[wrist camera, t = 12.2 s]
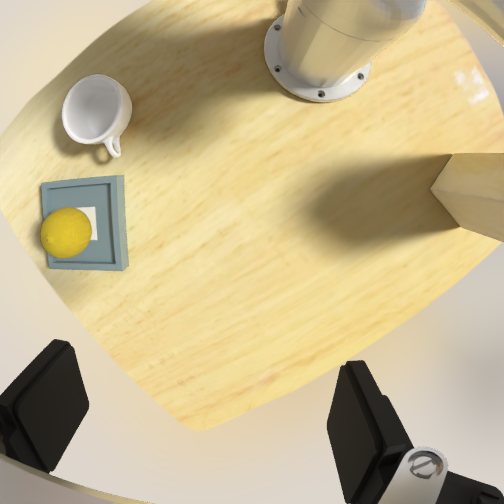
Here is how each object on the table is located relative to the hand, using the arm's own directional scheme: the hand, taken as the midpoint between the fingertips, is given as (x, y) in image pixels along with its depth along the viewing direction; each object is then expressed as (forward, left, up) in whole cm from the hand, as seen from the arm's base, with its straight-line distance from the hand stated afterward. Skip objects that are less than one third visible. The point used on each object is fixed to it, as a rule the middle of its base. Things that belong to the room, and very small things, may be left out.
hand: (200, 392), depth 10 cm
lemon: (-1, -19, -27) cm, 32 cm away
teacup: (-14, -15, -28) cm, 34 cm away
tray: (-2, -19, -28) cm, 33 cm away
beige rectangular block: (-7, +29, -28) cm, 41 cm away
